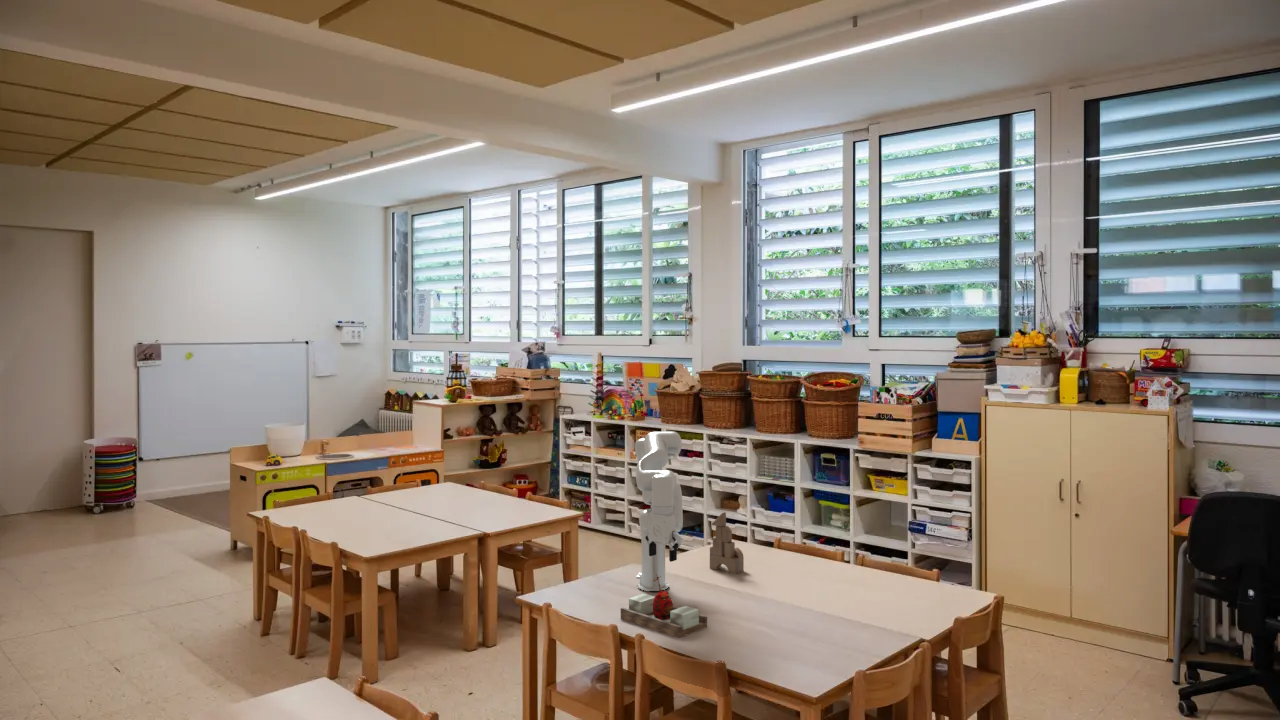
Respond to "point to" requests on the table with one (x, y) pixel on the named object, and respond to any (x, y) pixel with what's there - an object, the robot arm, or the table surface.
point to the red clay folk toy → (662, 604)
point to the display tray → (676, 625)
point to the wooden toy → (725, 548)
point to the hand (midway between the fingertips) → (662, 558)
